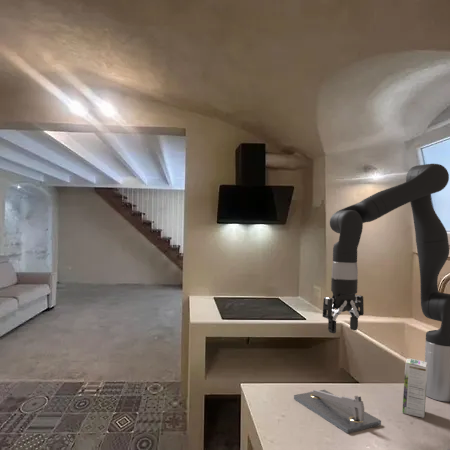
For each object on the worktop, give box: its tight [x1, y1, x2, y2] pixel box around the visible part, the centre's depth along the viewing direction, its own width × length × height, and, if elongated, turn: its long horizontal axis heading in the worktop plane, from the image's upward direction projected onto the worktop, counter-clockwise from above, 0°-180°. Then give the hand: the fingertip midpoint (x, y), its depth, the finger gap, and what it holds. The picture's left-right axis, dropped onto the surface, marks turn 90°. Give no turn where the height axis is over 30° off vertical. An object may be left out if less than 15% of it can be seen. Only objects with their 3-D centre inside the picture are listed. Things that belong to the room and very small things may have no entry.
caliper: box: [309, 389, 365, 421], centre depth 112 cm, size 20×1×6 cm, turn 28°
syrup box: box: [402, 358, 428, 419], centre depth 114 cm, size 6×6×14 cm
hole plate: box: [293, 389, 382, 434], centre depth 112 cm, size 12×22×1 cm, turn 27°
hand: (343, 331), depth 117 cm, fingers open, 8 cm apart
